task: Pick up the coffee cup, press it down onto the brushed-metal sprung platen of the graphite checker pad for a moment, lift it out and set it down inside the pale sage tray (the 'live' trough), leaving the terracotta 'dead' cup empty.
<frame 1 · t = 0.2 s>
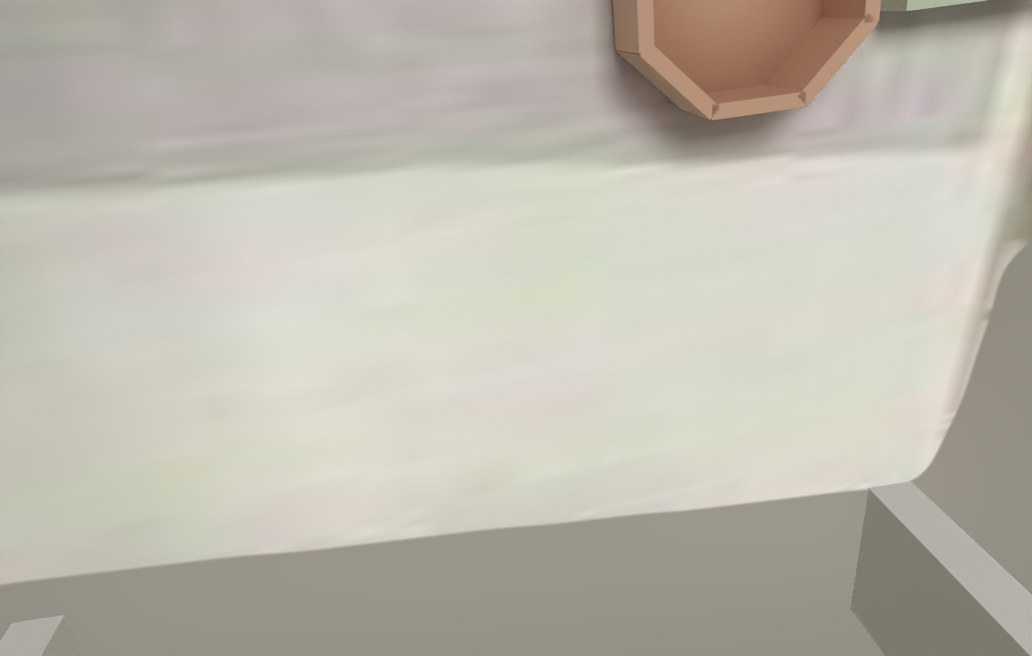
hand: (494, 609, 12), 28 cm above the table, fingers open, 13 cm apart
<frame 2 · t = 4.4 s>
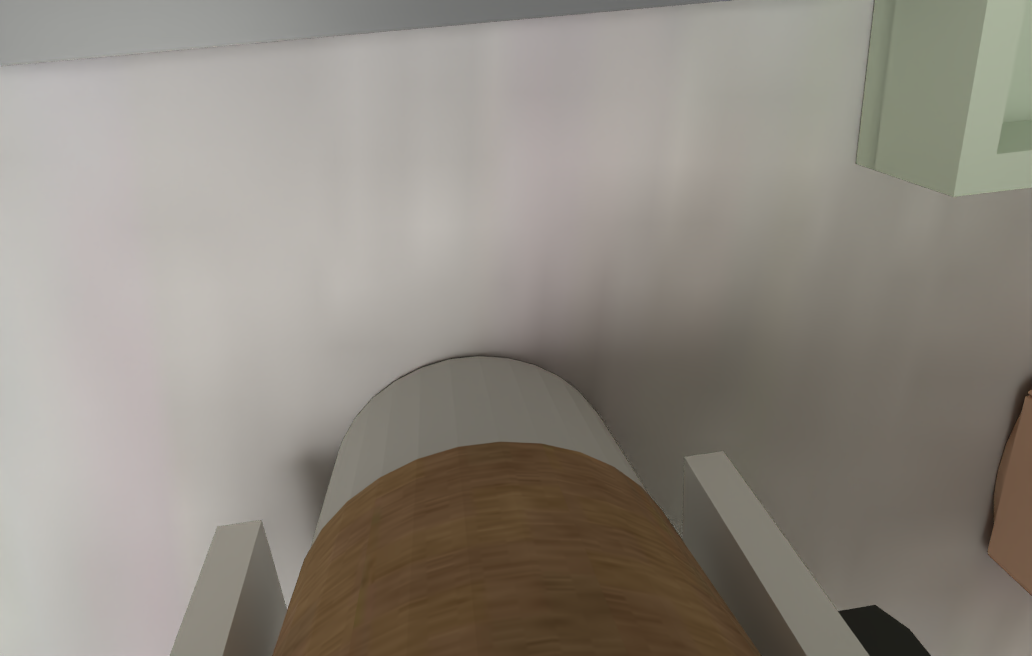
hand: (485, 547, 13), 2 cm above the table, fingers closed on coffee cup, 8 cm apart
coffee cup: (475, 472, 16), on the table, touching gripper
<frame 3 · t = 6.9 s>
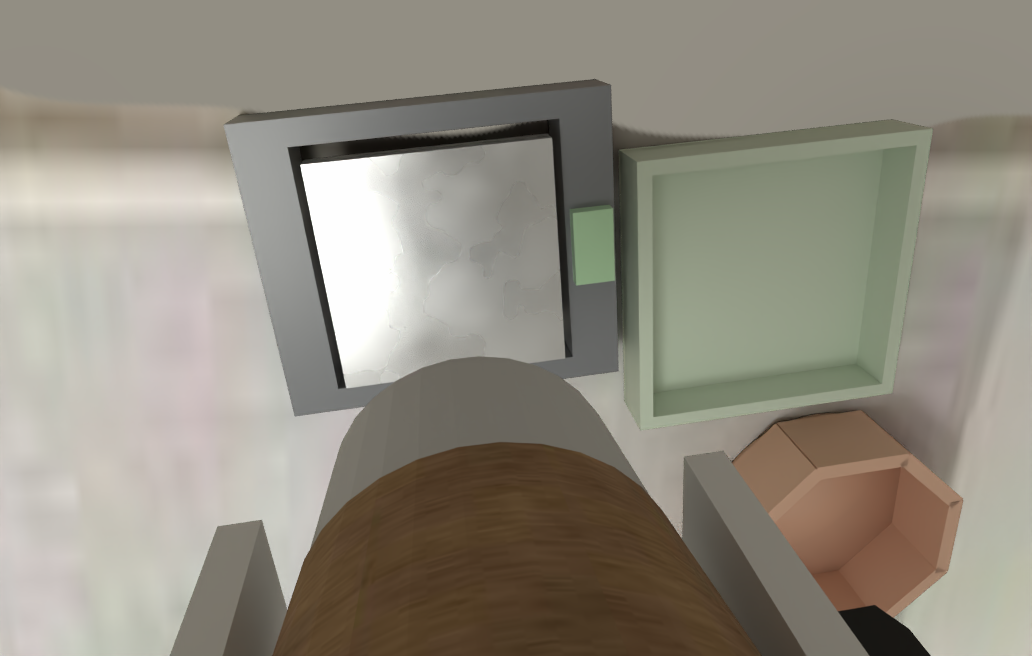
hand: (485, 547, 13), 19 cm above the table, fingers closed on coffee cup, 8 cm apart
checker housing: (440, 242, 31), on the table
coffee cup: (475, 472, 16), point 17 cm above the table, touching gripper
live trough: (750, 268, 33), on the table
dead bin: (806, 500, 39), on the table
platen: (443, 265, 28), point 3 cm above the table, slide at 0.0 cm
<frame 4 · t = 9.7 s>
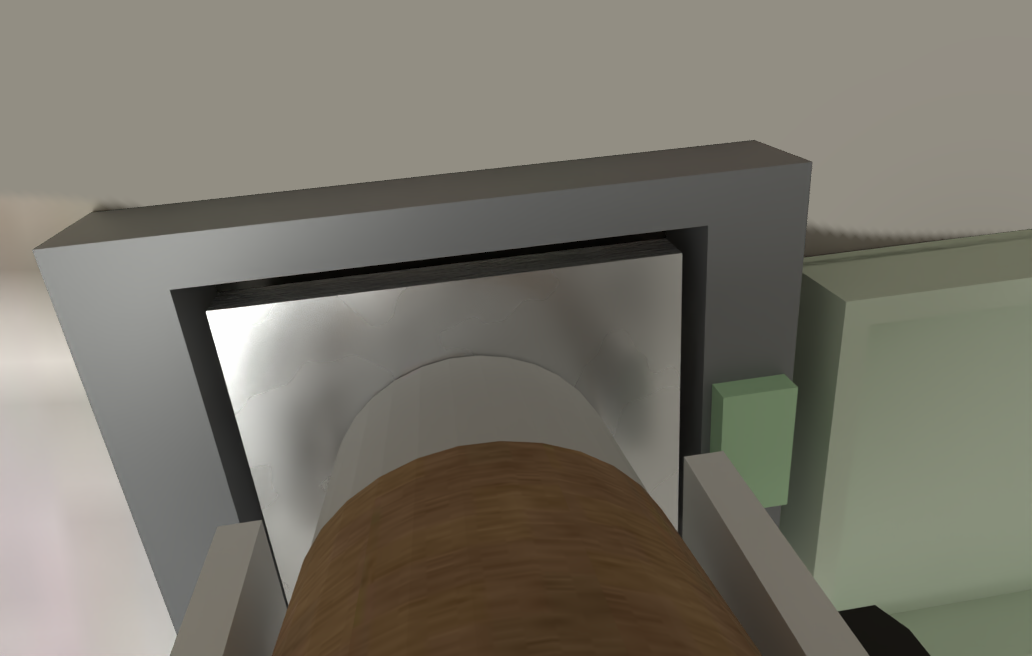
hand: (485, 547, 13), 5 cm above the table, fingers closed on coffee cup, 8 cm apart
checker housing: (467, 418, 18), on the table
coffee cup: (475, 471, 16), point 2 cm above the table, touching gripper, platen
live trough: (974, 439, 20), on the table
platen: (473, 464, 16), point 2 cm above the table, slide at 1.0 cm, touching coffee cup
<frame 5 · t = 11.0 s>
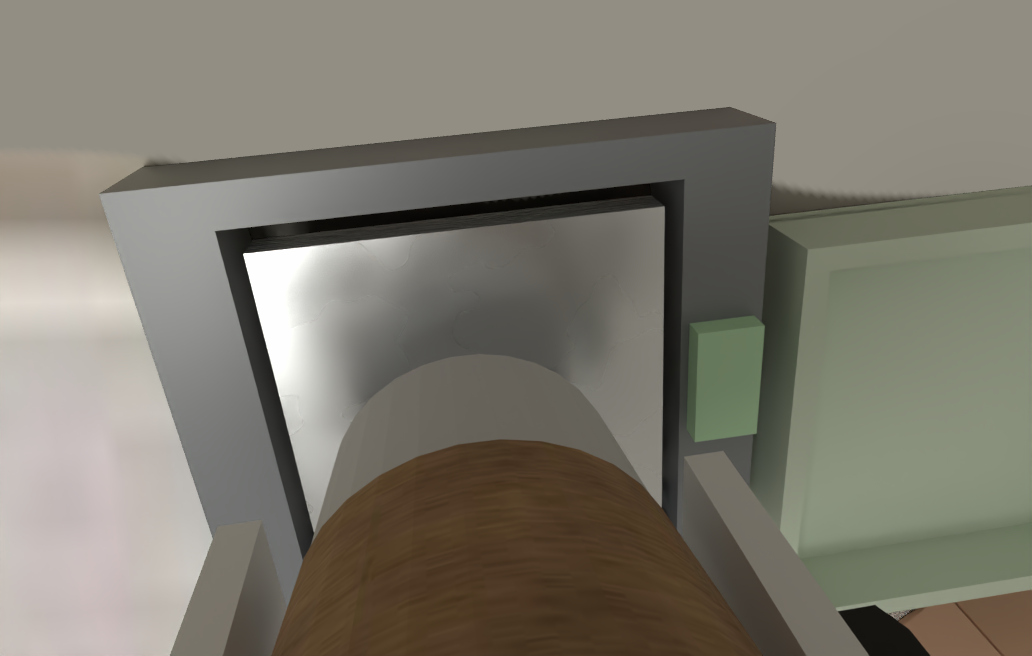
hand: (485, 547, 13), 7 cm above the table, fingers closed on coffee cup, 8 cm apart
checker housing: (472, 359, 20), on the table
coffee cup: (475, 470, 16), point 5 cm above the table, touching gripper
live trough: (936, 387, 22), on the table
platen: (478, 399, 18), point 2 cm above the table, slide at 0.8 cm
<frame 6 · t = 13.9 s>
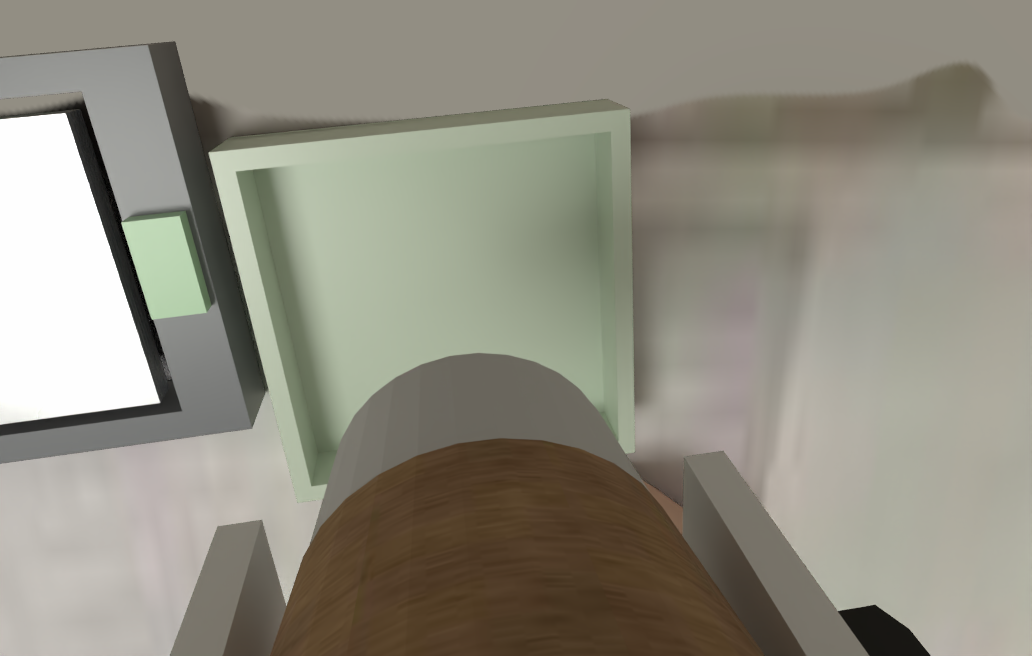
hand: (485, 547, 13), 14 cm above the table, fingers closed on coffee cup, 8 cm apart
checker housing: (2, 260, 23), on the table
coffee cup: (475, 469, 16), point 11 cm above the table, touching gripper
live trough: (445, 292, 26), on the table
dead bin: (573, 574, 32), on the table
when the fingers open (5 cm above the table, at t = 15.9 s): coffee cup drops 2 cm, resting on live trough.
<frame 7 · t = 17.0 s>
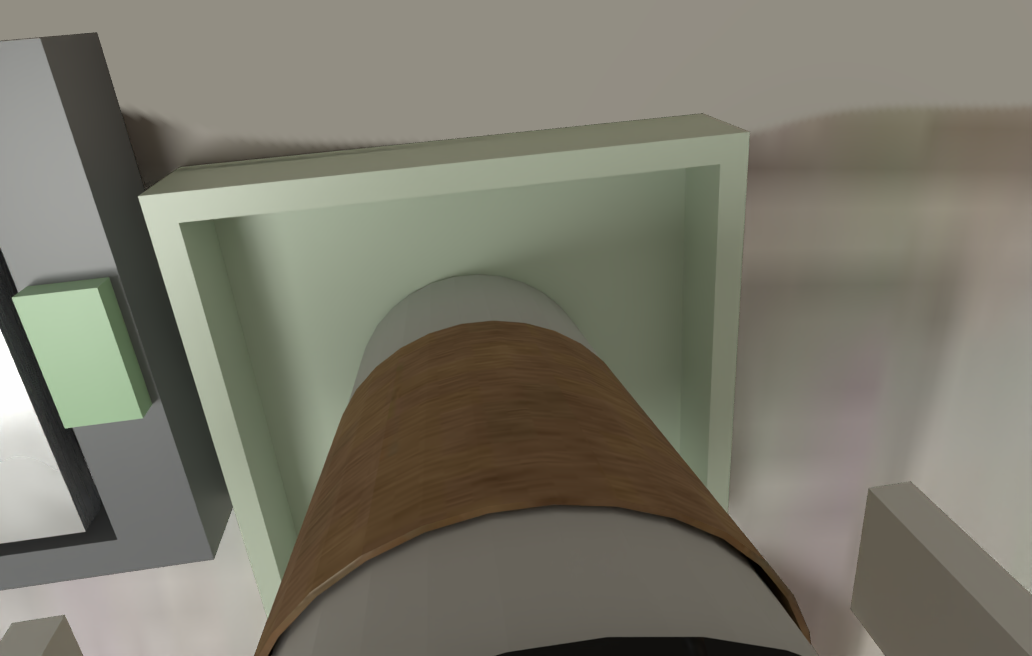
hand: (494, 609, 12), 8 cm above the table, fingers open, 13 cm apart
coffee cup: (475, 376, 19), resting on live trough
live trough: (475, 369, 19), on the table
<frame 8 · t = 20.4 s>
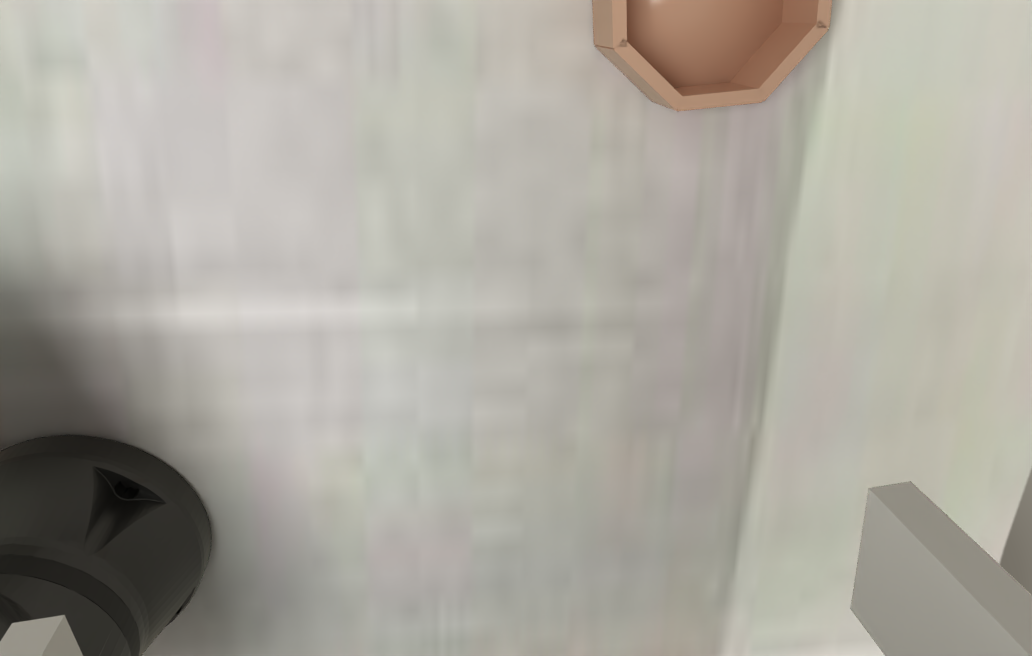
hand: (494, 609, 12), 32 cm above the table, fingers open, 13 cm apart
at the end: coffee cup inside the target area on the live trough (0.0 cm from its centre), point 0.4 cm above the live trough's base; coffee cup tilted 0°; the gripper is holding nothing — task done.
